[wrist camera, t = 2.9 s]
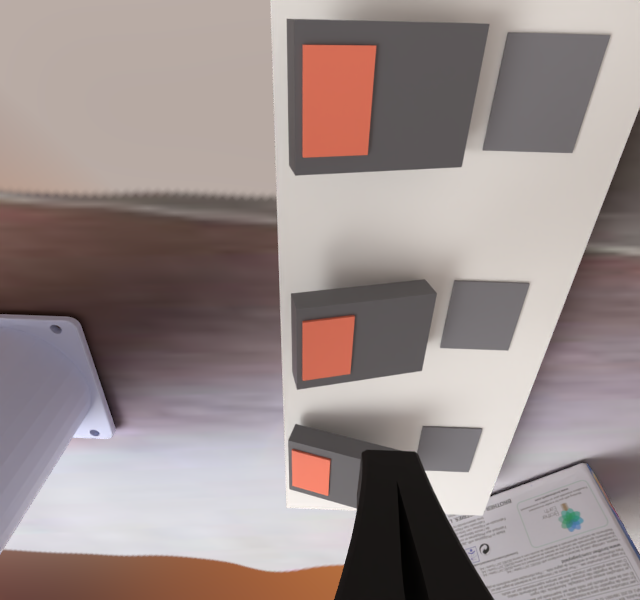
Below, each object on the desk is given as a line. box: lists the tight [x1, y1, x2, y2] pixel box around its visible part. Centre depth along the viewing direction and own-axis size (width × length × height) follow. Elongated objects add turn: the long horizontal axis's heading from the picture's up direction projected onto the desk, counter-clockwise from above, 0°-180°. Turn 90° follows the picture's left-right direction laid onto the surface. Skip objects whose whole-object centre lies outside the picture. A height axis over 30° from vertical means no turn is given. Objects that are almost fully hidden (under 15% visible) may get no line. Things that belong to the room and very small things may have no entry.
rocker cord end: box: [287, 19, 490, 176], centre depth 12 cm, size 5×4×1 cm
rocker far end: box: [288, 424, 401, 509], centre depth 21 cm, size 5×4×1 cm
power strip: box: [270, 0, 640, 516], centre depth 17 cm, size 11×32×2 cm, turn 179°
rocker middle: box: [291, 279, 437, 390], centre depth 16 cm, size 5×4×1 cm
